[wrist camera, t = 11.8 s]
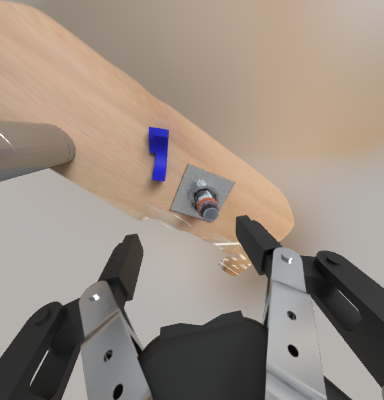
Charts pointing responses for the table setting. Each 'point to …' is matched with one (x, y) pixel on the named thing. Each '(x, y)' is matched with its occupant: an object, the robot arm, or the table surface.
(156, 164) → the blue notched bracket
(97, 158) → the table surface
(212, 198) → the supplement bottle
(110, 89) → the table surface
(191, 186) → the duct panel
